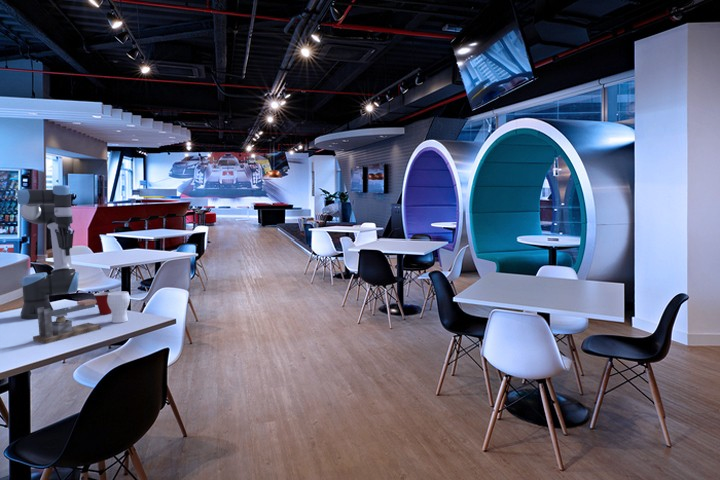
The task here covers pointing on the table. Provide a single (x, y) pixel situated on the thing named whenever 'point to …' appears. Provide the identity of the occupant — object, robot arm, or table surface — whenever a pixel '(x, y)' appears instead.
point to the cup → (118, 305)
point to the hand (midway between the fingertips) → (66, 262)
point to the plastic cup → (103, 303)
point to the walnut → (60, 319)
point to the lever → (74, 308)
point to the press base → (70, 334)
